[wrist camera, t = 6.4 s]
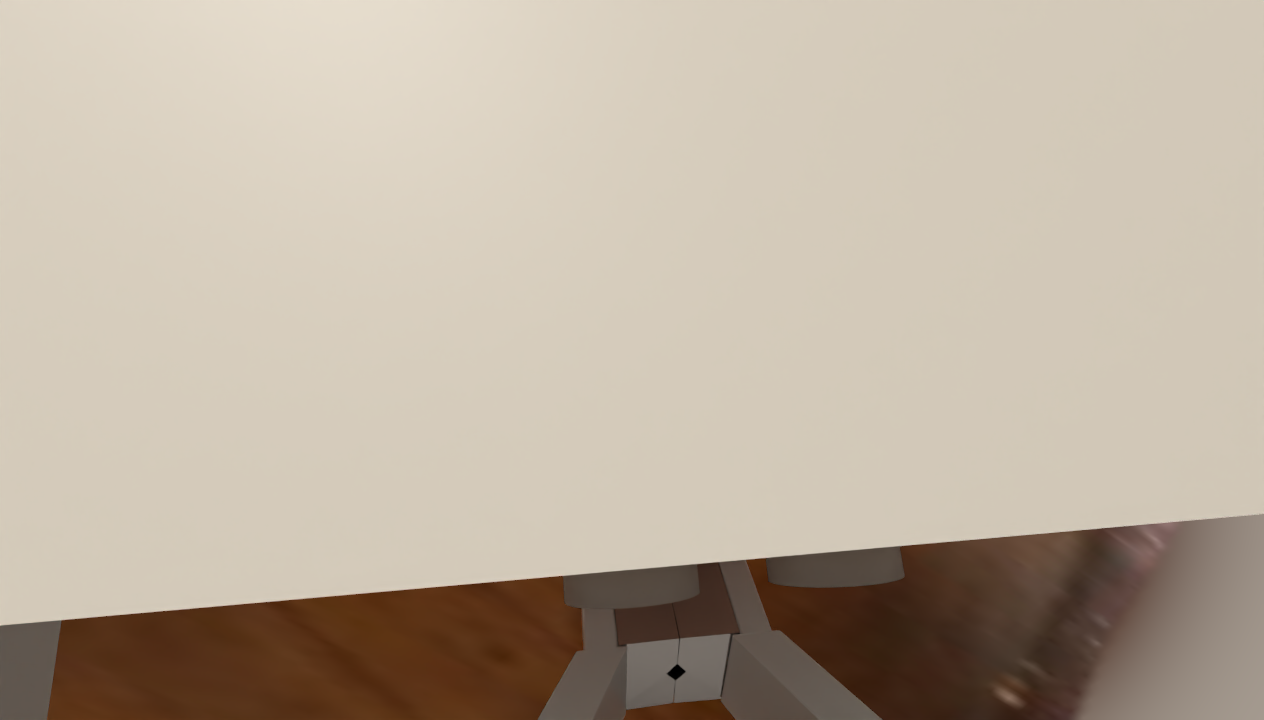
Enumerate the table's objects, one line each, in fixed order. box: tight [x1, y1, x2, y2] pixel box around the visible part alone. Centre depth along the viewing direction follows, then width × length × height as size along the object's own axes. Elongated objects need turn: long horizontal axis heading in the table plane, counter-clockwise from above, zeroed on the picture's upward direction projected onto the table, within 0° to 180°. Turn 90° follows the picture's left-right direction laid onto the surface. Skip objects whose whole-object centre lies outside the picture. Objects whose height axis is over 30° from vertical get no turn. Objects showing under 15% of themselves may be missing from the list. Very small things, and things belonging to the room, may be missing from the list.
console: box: [0, 0, 1264, 625], centre depth 11 cm, size 24×10×15 cm, turn 94°
